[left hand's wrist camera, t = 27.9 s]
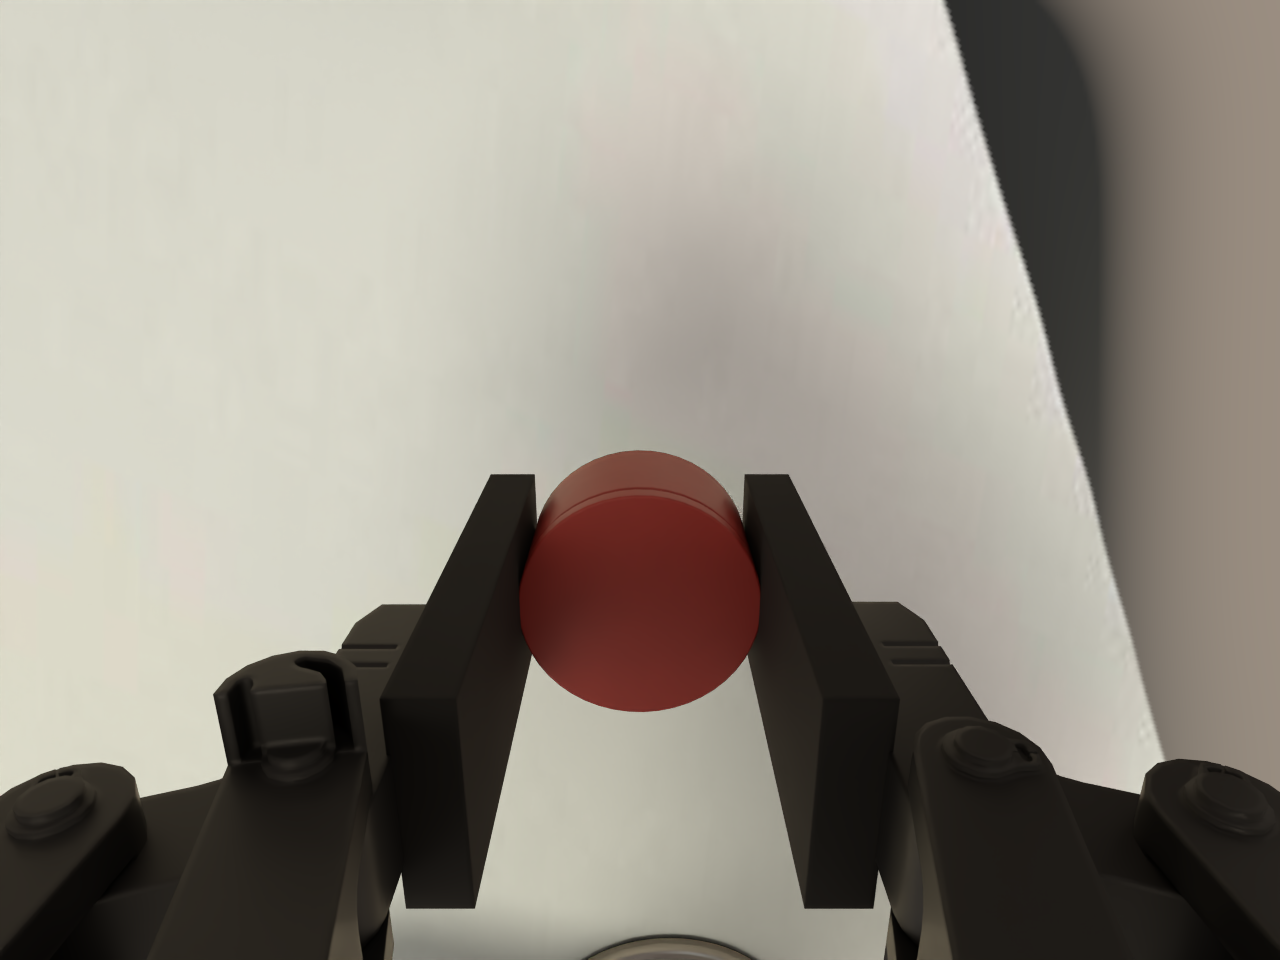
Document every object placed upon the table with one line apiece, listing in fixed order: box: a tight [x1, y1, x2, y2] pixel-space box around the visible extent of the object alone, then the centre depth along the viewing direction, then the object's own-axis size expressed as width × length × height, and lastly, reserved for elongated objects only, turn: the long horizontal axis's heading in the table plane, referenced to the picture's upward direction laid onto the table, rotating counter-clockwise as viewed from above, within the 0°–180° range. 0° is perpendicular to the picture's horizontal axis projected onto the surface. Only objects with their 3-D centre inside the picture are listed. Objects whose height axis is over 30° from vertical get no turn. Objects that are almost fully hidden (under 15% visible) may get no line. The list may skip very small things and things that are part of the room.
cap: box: [519, 450, 760, 712], centre depth 13 cm, size 4×4×2 cm
